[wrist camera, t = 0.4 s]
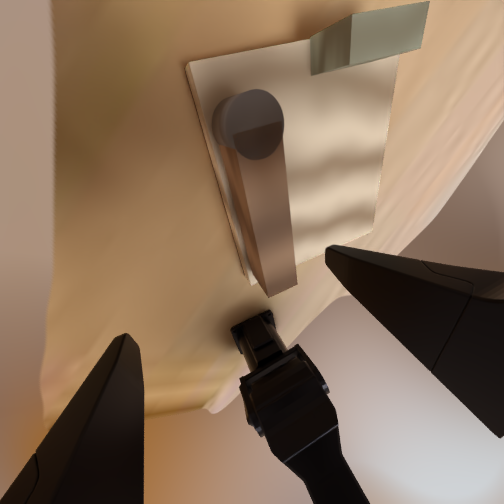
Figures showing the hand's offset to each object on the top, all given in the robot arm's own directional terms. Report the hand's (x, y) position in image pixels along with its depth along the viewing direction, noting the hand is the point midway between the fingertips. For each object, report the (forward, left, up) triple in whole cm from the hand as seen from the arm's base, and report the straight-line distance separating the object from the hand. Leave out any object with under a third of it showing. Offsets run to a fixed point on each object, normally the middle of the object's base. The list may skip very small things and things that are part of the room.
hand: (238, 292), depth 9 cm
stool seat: (-1, -12, -13) cm, 18 cm away
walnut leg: (-1, -5, -11) cm, 12 cm away
